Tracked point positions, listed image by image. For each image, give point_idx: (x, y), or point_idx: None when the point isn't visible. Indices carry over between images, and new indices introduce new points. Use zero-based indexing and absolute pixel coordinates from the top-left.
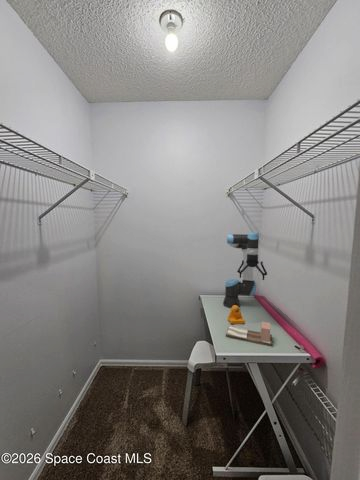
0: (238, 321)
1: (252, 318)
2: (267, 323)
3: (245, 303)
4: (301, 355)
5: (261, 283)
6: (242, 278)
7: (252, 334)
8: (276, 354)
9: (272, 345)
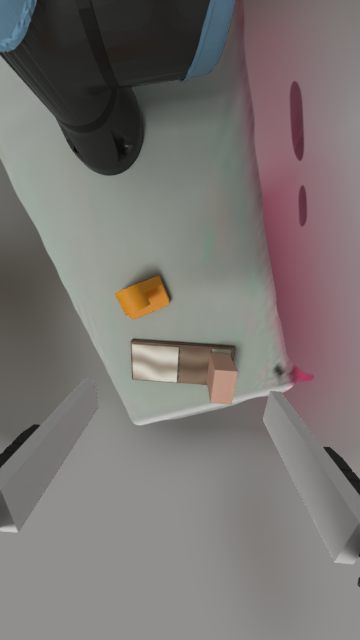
0: (152, 311)
1: (193, 251)
2: (230, 376)
3: None
4: None
5: (271, 431)
6: (72, 407)
7: (189, 361)
8: None
9: None
